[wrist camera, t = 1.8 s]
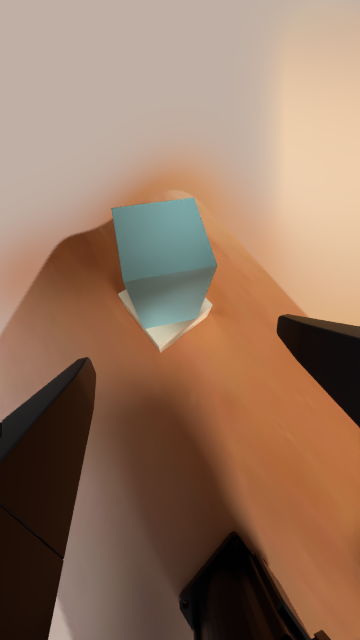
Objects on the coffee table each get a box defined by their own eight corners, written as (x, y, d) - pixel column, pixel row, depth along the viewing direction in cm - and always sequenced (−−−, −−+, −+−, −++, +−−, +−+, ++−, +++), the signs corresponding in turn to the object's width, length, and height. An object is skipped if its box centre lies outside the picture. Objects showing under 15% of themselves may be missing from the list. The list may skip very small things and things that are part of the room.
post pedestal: (160, 352, 22) (156, 337, 15) (125, 307, 24) (107, 275, 17) (206, 316, 24) (220, 288, 17) (170, 276, 25) (171, 237, 19)
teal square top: (196, 318, 20) (217, 265, 11) (143, 329, 19) (123, 281, 11) (184, 273, 21) (193, 197, 13) (135, 281, 21) (111, 208, 12)
